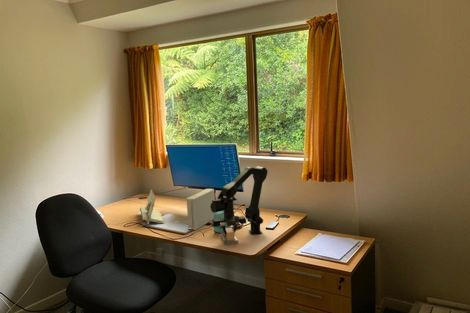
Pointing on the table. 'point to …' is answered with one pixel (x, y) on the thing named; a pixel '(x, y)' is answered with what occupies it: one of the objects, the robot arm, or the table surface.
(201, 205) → the game console
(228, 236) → the tall beige box
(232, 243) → the grey rectangular frame
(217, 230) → the data package
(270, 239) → the table surface
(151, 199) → the architectural model
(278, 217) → the table surface
